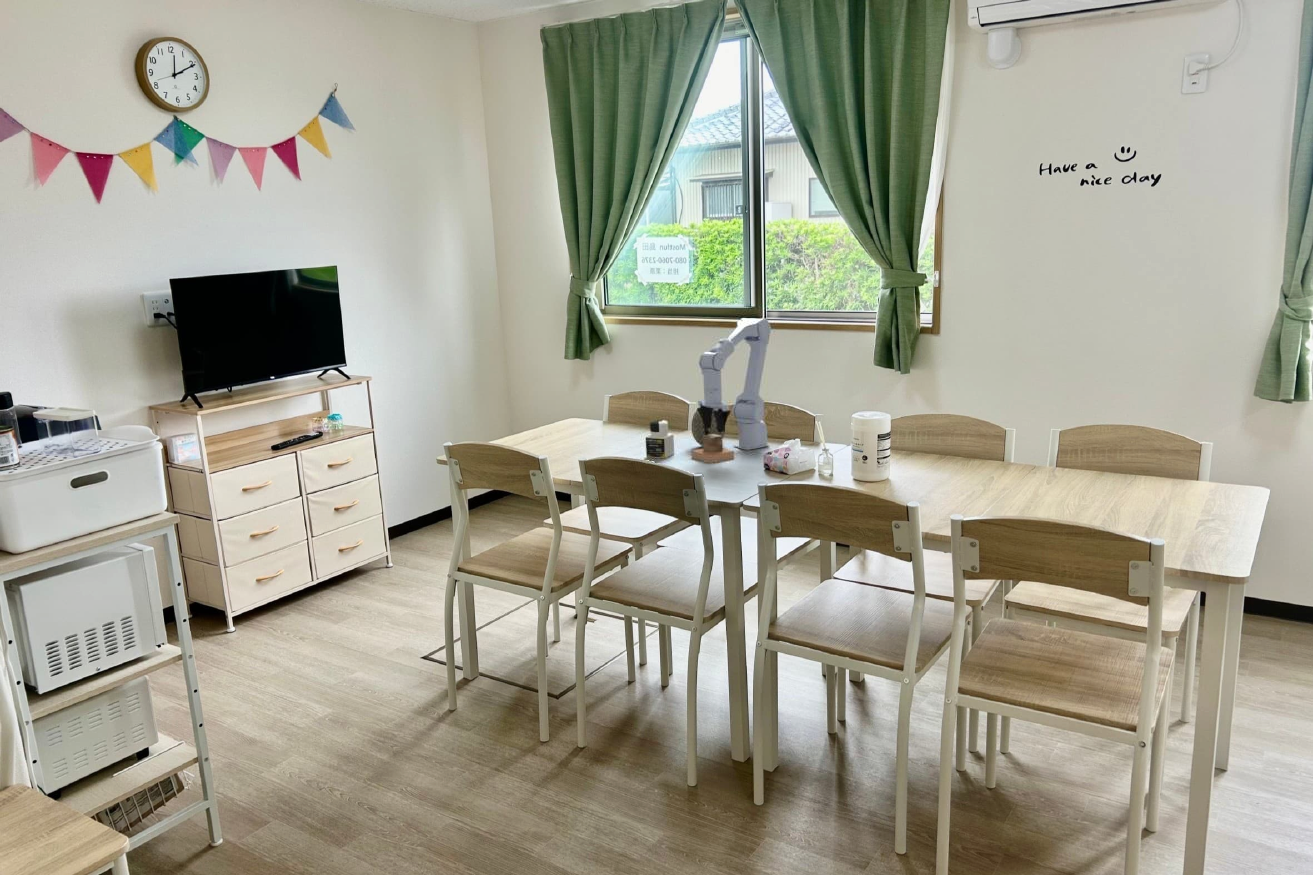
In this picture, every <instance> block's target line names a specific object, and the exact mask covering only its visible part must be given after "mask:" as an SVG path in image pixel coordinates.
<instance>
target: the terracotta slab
mask: <svg viewBox="0 0 1313 875" xmlns="http://www.w3.org/2000/svg"><path fill="white" fill-rule="evenodd" d="M734 452H735V451H734V450H732V449H728V448H726V447H725V448H724V447H723V451H719V452H714V453H710V452H706V451H703V448H698V449H694V450H691V458H692V459H694V460H698V461H700V460H701V462H703V461H705V462H704V463H707V464H711V463H716V462H715V461H717V462H722V461H721V460H723V461H726V460H727V459H728V460H732V459H733V460H734V459H735V454H734Z"/></svg>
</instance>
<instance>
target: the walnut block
mask: <svg viewBox="0 0 1313 875" xmlns="http://www.w3.org/2000/svg"><path fill="white" fill-rule="evenodd" d="M723 444H724V443H723V439H722V436H721V435H717V434H711V435H705V436H703V446H702V449H703V451H706V452H710V453H714V452H719V451H723V448H724V446H723Z"/></svg>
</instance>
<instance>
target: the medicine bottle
mask: <svg viewBox="0 0 1313 875" xmlns="http://www.w3.org/2000/svg"><path fill="white" fill-rule="evenodd" d="M649 430H650V431H649V432H650V434H648V435H647V436H645V452H646V453H645V454H646V458H651V459H652V458H653V459H664V460H665V459H668V458H669V457H671V456H673V455H675V442H674V441H675V439H674V433H669V422H668V421H667V420H664V419H657V420H656V419H655V420H652V421H651V422H649Z"/></svg>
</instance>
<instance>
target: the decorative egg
mask: <svg viewBox="0 0 1313 875" xmlns="http://www.w3.org/2000/svg"><path fill="white" fill-rule="evenodd" d="M700 407H701V406H699V407H698V408H700ZM717 410H718V409H713V411H717ZM690 426H691V434H692V438H694V441H695V442H696V443H697V444H698V445H700V446H701V447H703V436H705V435H711V434H717V435H721V436H722V440H723V439H724V436H725V434H726V428H725V429H724V431H723V432H718V431H717V424H716V419H715V416H714V413H713V412H712V418H711V428H708V429H705V428H704V425H703V421H702V418H701V416H700V414H699V412H698V411H697V409H696V411H694V414H693V416H692V420H691V425H690Z"/></svg>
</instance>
